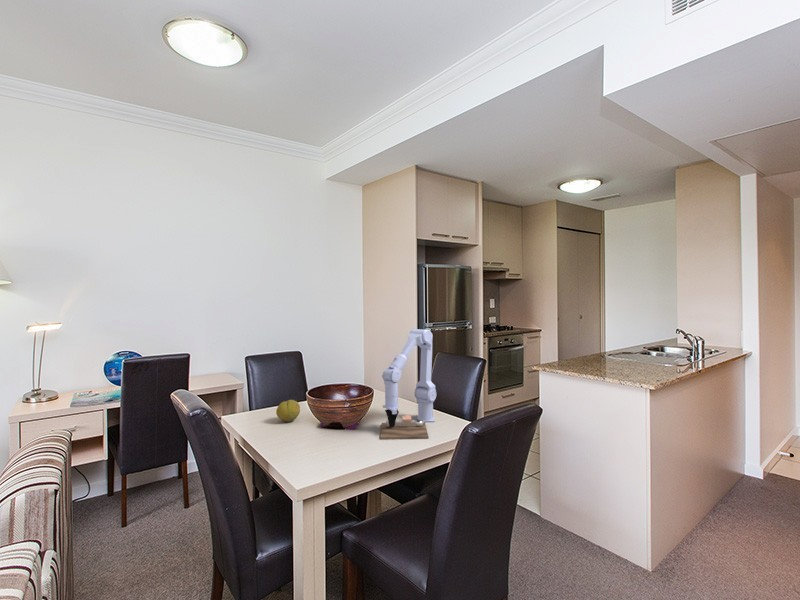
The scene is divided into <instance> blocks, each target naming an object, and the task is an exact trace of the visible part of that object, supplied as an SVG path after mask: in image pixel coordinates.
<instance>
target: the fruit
mask: <svg viewBox="0 0 800 600" xmlns="http://www.w3.org/2000/svg"><path fill="white" fill-rule="evenodd" d="M275 413H276V416H277V418H278V419H279V420H282V421H284V422H288V423H289V422H293V421H295V420H296V419H297V417H298V416H299V415H300V413H301V406H300V404H299V402H298V401H296V400H294V399H288V400H286V401H285V400H284V401H281V403H279V405H278V406H277V408H276V412H275Z"/></svg>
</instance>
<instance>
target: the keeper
mask: <svg viewBox="0 0 800 600" xmlns="http://www.w3.org/2000/svg"><path fill="white" fill-rule="evenodd" d="M401 420H402V421H403V422H412V420H413V419H412V415H411V414H402V415H401ZM416 420H417V421H421V418H417V417H416Z"/></svg>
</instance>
